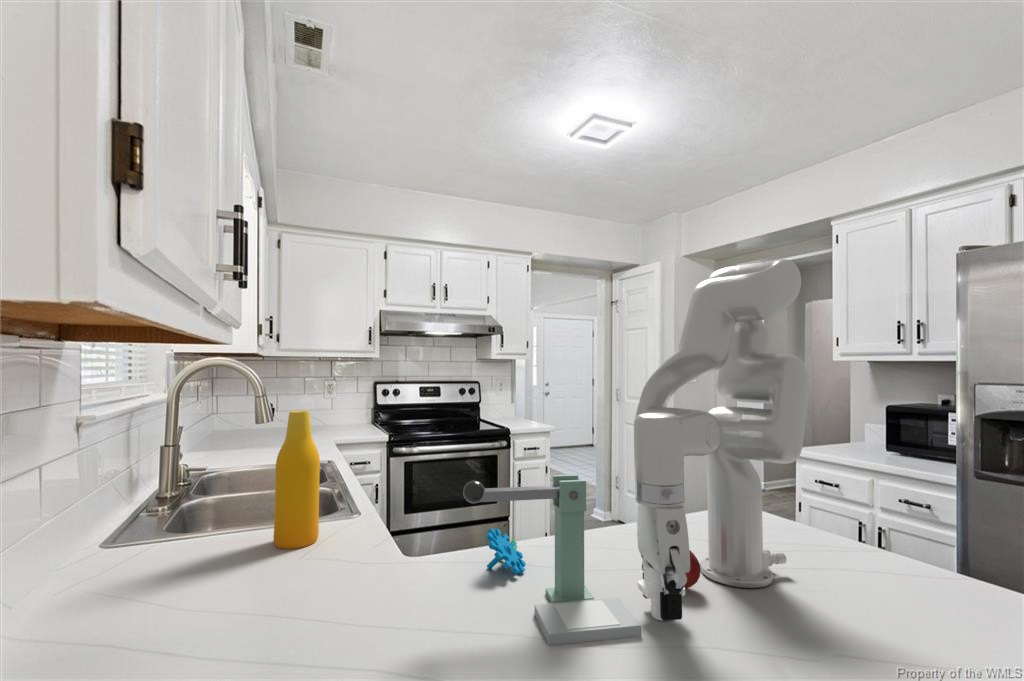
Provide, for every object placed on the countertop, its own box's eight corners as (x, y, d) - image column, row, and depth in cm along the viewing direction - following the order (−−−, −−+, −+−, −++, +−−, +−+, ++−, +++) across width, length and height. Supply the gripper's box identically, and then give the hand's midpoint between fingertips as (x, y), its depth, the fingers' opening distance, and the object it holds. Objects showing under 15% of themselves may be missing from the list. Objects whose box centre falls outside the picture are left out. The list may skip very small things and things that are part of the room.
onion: (676, 579, 93) (675, 535, 93) (706, 589, 89) (705, 543, 89) (660, 589, 89) (659, 543, 89) (691, 600, 85) (690, 551, 85)
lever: (577, 495, 88) (576, 474, 88) (583, 500, 84) (583, 479, 84) (462, 500, 84) (462, 478, 84) (464, 506, 81) (464, 483, 81)
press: (602, 588, 89) (601, 473, 90) (641, 635, 73) (640, 495, 74) (525, 594, 86) (525, 475, 87) (548, 645, 71) (548, 500, 72)
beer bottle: (326, 541, 112) (329, 411, 114) (285, 553, 105) (288, 414, 107) (306, 532, 118) (308, 408, 120) (266, 542, 111) (269, 411, 113)
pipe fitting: (641, 602, 83) (640, 553, 84) (686, 609, 81) (685, 559, 81) (636, 621, 77) (634, 569, 78) (684, 630, 75) (683, 575, 75)
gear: (518, 575, 90) (484, 530, 94) (495, 596, 91) (462, 551, 95) (535, 561, 101) (504, 521, 104) (514, 580, 101) (484, 540, 105)
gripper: (709, 506, 71) (712, 636, 70) (659, 478, 88) (661, 582, 88) (658, 509, 70) (661, 640, 70) (618, 479, 87) (620, 584, 87)
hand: (661, 606), depth 79 cm, fingers closed on pipe fitting, 6 cm apart
